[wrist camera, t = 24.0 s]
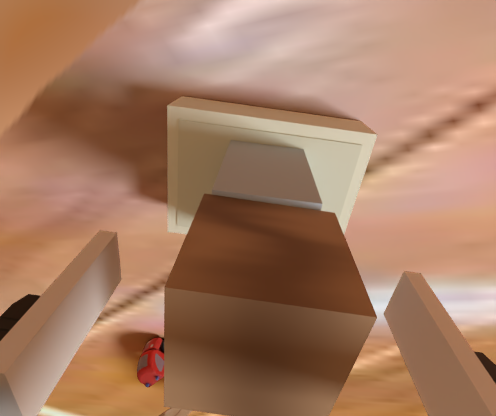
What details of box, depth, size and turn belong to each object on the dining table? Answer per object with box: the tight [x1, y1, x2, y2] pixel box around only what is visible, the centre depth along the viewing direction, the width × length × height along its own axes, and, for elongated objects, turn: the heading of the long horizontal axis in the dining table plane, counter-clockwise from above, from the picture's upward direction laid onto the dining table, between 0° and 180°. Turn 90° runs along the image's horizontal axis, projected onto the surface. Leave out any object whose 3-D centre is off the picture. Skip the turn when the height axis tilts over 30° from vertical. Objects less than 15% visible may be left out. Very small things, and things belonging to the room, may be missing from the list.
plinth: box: [167, 96, 377, 234], centre depth 24 cm, size 14×10×4 cm
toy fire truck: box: [137, 338, 192, 416], centre depth 35 cm, size 3×14×10 cm, turn 47°
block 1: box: [212, 140, 322, 211], centre depth 19 cm, size 5×7×8 cm
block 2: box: [164, 193, 377, 416], centre depth 12 cm, size 6×6×6 cm
